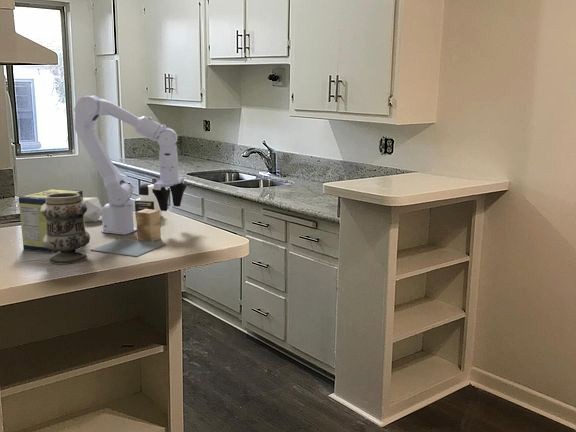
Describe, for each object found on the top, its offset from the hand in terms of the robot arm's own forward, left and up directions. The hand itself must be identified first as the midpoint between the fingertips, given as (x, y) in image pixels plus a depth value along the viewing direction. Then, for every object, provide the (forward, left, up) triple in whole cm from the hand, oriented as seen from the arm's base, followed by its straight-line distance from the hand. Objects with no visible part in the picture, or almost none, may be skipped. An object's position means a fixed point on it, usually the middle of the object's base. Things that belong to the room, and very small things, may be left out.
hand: (170, 208), depth 193 cm
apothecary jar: (-8, -38, -8) cm, 40 cm away
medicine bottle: (-18, +13, -8) cm, 23 cm away
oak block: (0, -12, -7) cm, 14 cm away
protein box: (-22, -28, -8) cm, 37 cm away
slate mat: (0, -22, -7) cm, 23 cm away
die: (-34, +1, -8) cm, 35 cm away
